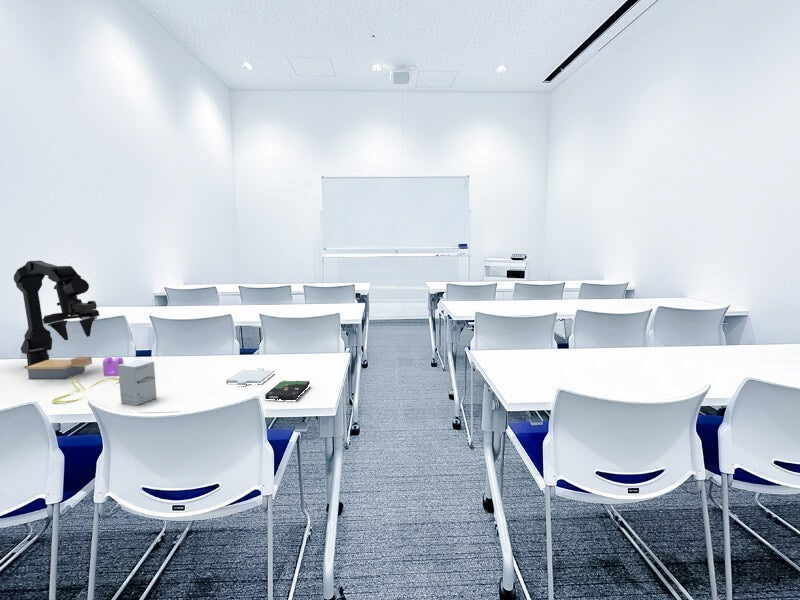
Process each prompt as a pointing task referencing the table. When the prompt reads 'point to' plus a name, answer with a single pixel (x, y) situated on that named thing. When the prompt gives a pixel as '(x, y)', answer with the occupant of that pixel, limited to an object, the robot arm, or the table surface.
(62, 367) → the tan board with handle
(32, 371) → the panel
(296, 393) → the disk drive
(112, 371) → the bracket
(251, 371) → the mounting plate
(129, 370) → the supplement box
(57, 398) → the yellow cable
